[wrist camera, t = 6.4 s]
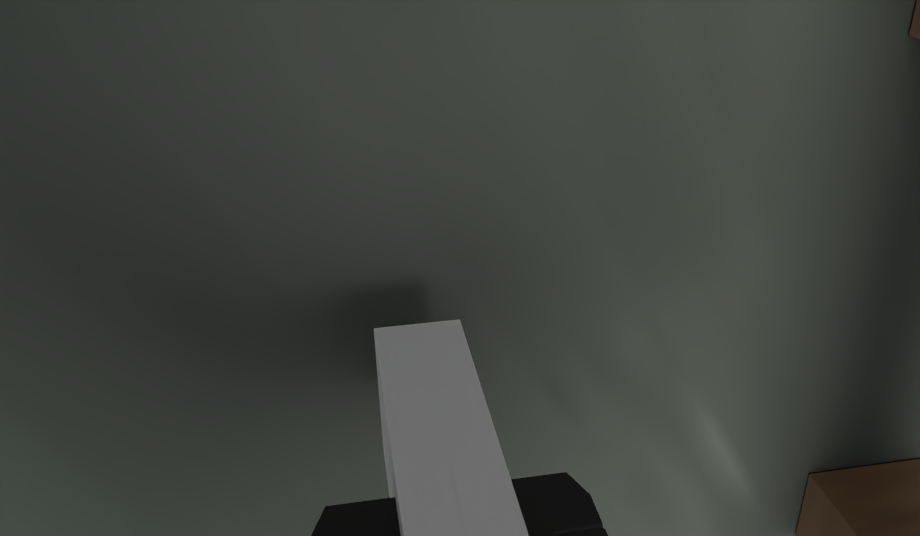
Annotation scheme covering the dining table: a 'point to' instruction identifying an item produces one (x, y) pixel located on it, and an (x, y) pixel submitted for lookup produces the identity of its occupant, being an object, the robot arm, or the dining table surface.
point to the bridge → (865, 486)
